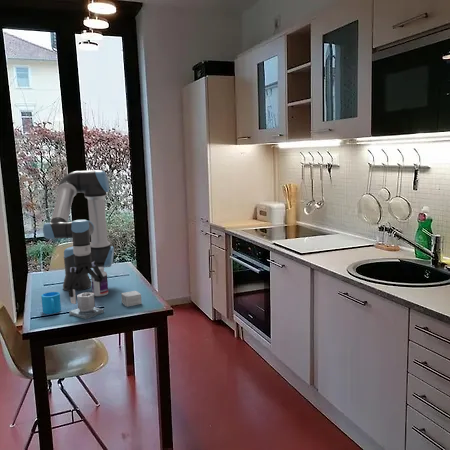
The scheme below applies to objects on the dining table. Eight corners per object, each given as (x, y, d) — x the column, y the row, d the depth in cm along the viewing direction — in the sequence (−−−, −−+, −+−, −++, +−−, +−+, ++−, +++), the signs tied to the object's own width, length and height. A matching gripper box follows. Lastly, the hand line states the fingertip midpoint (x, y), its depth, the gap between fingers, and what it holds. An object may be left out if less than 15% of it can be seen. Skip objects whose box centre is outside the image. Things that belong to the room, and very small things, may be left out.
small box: (136, 300, 228) (136, 290, 227) (142, 304, 221) (141, 294, 220) (121, 302, 224) (120, 292, 223) (126, 307, 217) (125, 296, 216)
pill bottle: (111, 293, 239) (109, 267, 237) (100, 297, 232) (99, 270, 230) (100, 291, 243) (98, 265, 241) (89, 296, 236) (87, 269, 234)
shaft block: (69, 314, 208) (67, 295, 207) (87, 308, 216) (85, 290, 215) (86, 319, 201) (84, 299, 200) (104, 312, 209) (102, 293, 208)
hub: (75, 308, 207) (74, 295, 206) (87, 303, 213) (86, 291, 212) (85, 310, 203) (84, 298, 202) (97, 306, 209) (97, 293, 208)
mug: (41, 310, 216) (40, 293, 214) (59, 307, 219) (58, 290, 218) (44, 317, 205) (43, 300, 204) (63, 314, 209) (62, 297, 208)
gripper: (63, 261, 193) (67, 308, 196) (109, 249, 213) (112, 293, 216) (53, 258, 197) (57, 305, 200) (98, 248, 217) (101, 290, 220)
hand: (85, 299), depth 208 cm, fingers open, 13 cm apart
